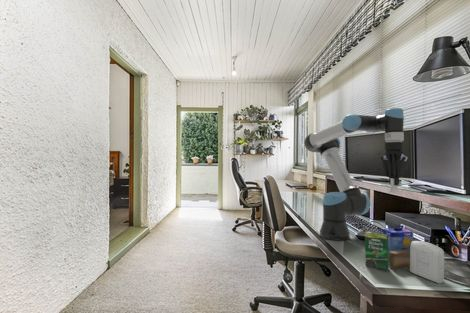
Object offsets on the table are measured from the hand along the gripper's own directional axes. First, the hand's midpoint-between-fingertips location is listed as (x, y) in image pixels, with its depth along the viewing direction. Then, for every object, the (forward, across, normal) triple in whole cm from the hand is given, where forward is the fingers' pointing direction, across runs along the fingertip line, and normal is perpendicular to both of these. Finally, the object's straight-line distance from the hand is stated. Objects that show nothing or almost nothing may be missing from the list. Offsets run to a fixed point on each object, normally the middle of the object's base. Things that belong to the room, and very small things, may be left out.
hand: (394, 192), depth 120 cm
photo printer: (+27, +25, -14) cm, 39 cm away
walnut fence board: (+26, +16, -10) cm, 32 cm away
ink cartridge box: (+27, +9, -10) cm, 30 cm away
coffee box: (+27, +13, -24) cm, 38 cm away
